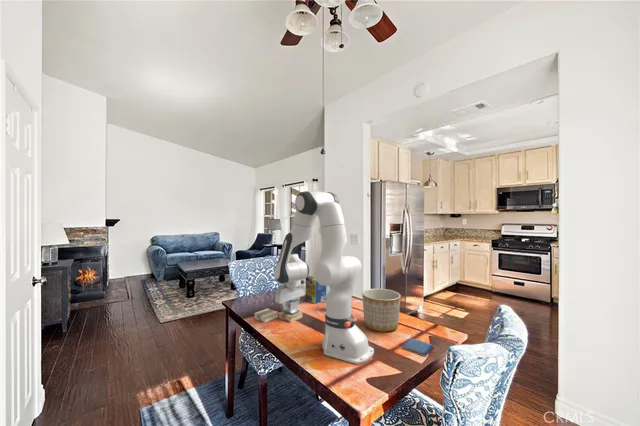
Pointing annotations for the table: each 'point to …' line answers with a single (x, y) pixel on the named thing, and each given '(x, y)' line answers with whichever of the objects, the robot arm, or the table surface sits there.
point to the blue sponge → (418, 346)
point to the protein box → (315, 290)
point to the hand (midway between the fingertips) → (290, 307)
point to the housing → (291, 307)
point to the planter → (381, 309)
